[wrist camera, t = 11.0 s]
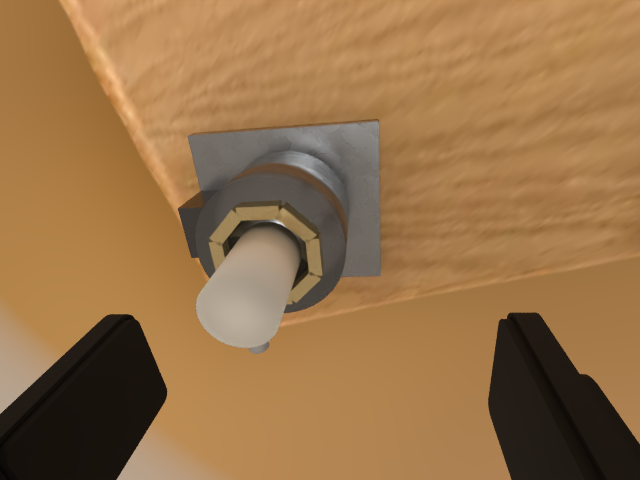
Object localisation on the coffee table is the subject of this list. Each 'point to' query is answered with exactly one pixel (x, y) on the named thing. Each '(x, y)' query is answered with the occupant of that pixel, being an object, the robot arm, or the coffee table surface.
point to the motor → (291, 198)
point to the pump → (251, 287)
